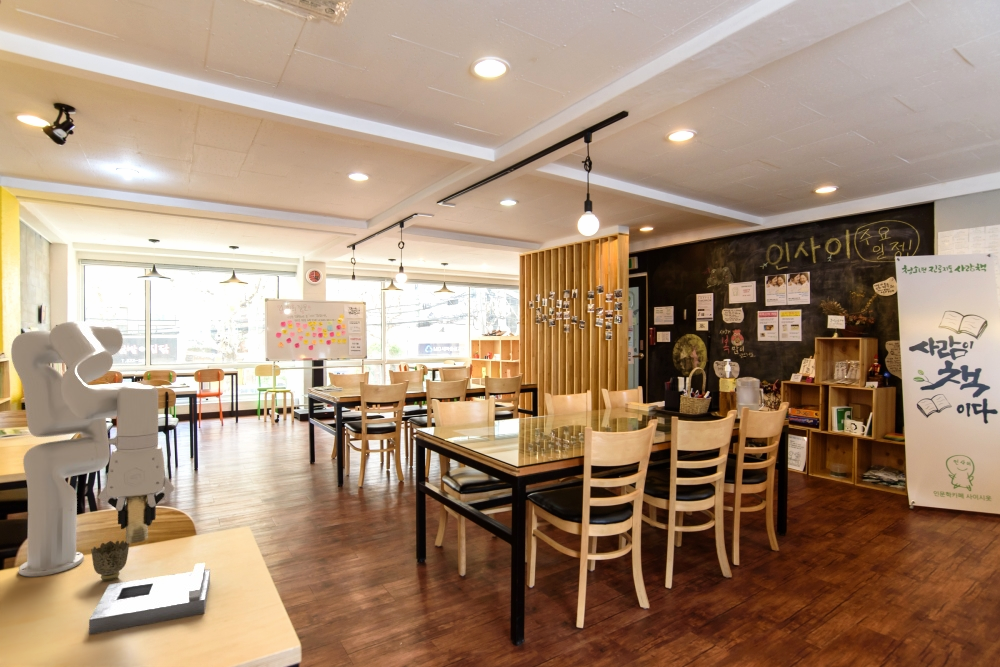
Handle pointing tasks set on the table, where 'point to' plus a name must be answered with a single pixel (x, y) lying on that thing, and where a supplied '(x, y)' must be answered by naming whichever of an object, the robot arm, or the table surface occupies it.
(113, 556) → the cup
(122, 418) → the robot arm
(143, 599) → the plate
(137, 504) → the brass bushing
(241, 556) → the table surface
